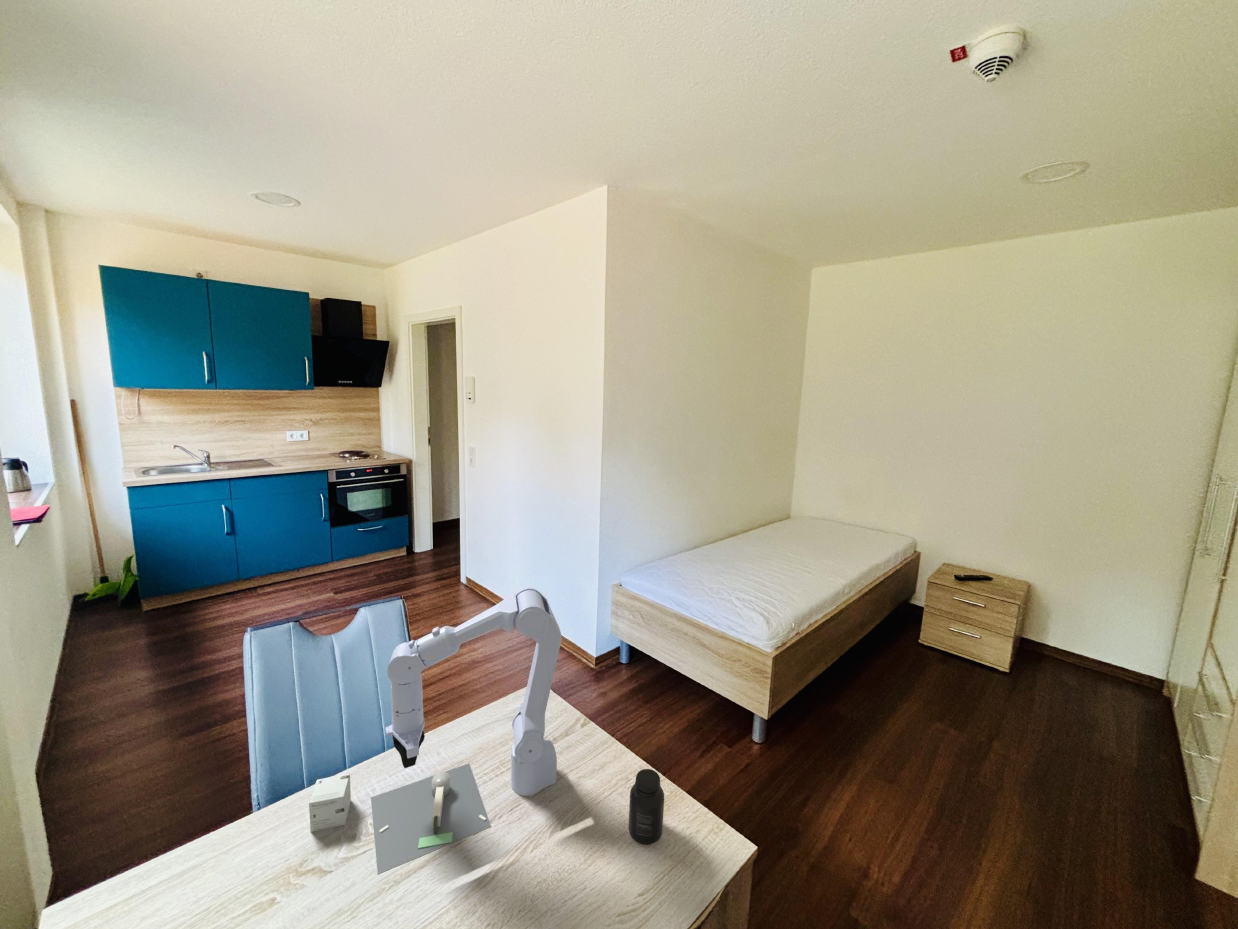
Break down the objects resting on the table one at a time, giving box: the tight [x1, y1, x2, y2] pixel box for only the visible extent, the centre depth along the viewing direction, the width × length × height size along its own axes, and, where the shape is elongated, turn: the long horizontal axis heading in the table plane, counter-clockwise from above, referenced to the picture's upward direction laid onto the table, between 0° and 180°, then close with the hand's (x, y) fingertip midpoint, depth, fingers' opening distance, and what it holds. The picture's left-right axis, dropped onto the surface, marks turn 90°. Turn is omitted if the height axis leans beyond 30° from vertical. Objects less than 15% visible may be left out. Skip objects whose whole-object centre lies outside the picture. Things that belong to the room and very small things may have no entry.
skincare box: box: [308, 773, 352, 833], centre depth 96 cm, size 6×6×7 cm
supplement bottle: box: [628, 768, 665, 846], centre depth 96 cm, size 7×7×12 cm
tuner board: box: [370, 763, 492, 875], centre depth 98 cm, size 20×18×1 cm
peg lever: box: [432, 771, 450, 834], centre depth 99 cm, size 12×4×3 cm, turn 14°
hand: (409, 764), depth 99 cm, fingers closed
